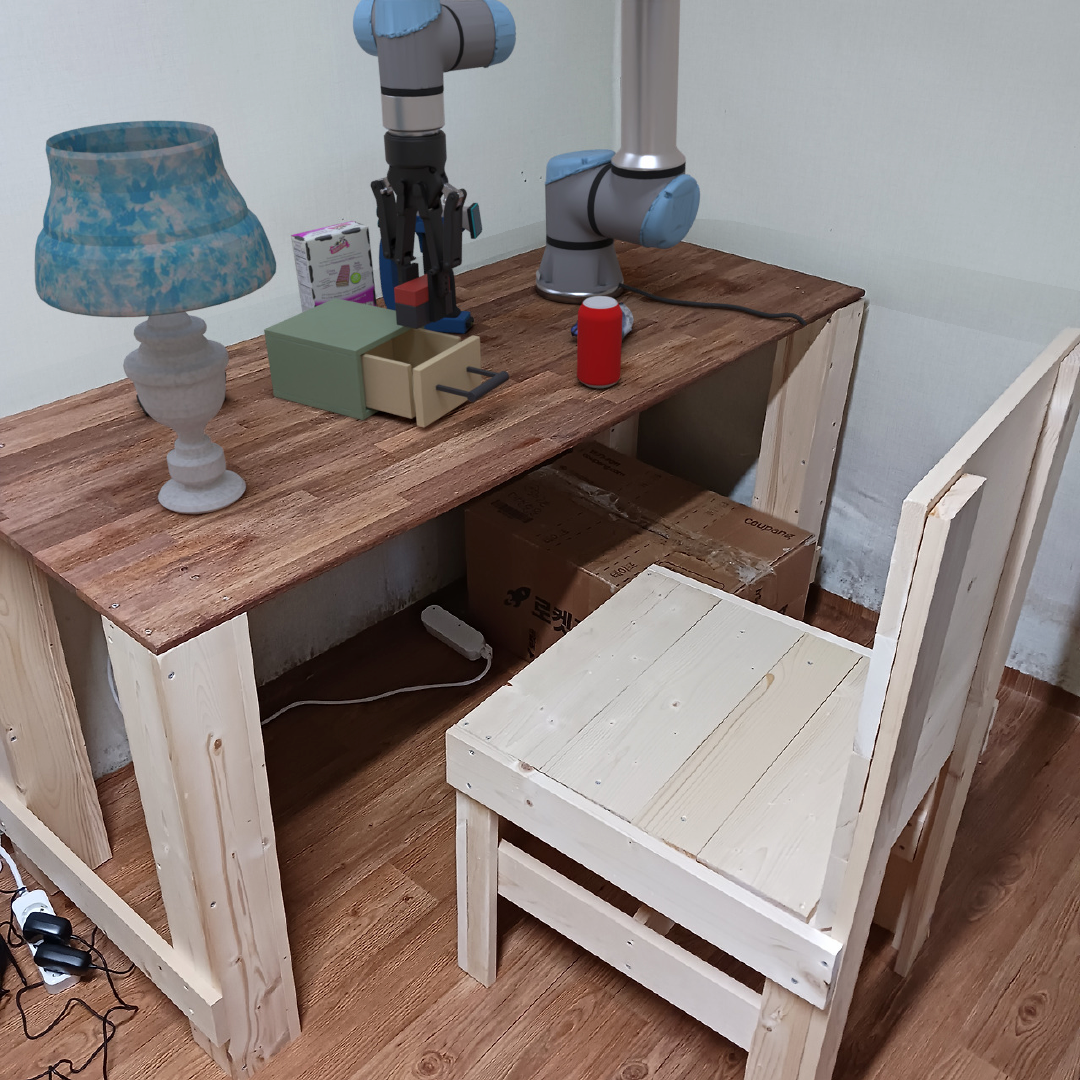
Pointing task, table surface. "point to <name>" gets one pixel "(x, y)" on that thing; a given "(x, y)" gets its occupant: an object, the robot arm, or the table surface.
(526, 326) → the table surface
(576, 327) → the snack package
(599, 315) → the beverage can
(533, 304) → the table surface
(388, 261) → the handheld scanner
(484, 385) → the drawer
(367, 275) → the candy bar box
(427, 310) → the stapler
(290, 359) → the cabinet
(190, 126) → the table lamp
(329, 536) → the table surface
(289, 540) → the table surface
